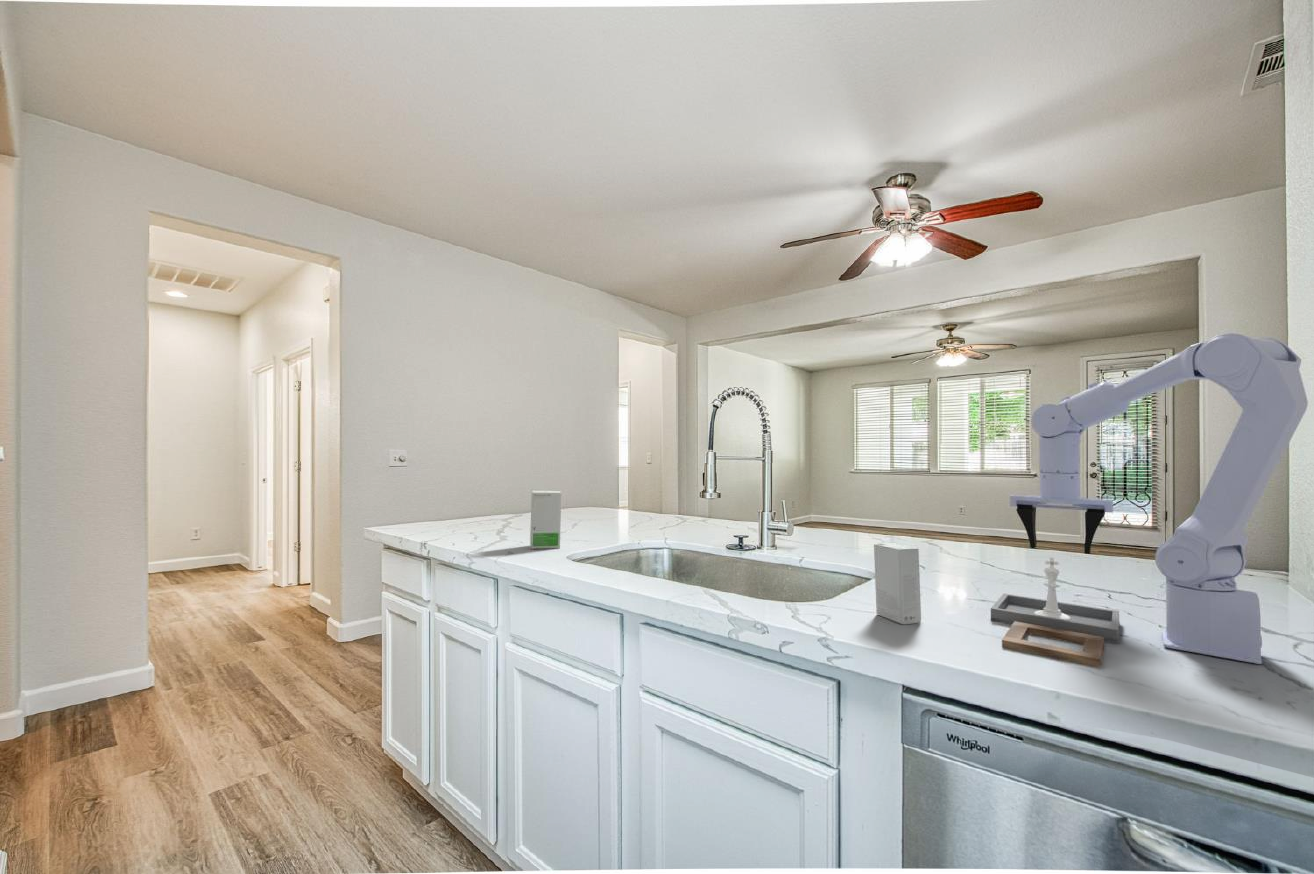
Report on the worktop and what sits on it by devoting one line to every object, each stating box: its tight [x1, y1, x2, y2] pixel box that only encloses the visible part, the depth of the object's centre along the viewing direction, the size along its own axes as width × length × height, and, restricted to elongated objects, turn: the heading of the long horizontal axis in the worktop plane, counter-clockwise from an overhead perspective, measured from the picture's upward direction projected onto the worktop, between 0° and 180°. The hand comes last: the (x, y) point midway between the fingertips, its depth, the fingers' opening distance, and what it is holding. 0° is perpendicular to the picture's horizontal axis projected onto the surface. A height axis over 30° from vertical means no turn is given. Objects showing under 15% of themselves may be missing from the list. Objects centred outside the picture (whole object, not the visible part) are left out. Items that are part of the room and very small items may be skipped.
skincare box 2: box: [873, 542, 922, 625], centre depth 92 cm, size 6×4×12 cm
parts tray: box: [990, 593, 1120, 645], centre depth 90 cm, size 16×12×2 cm
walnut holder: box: [1001, 621, 1105, 668], centre depth 79 cm, size 11×11×1 cm
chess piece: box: [1034, 557, 1070, 620], centre depth 89 cm, size 5×5×10 cm
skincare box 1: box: [529, 490, 562, 550], centre depth 155 cm, size 8×7×16 cm
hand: (1059, 550), depth 97 cm, fingers open, 7 cm apart
